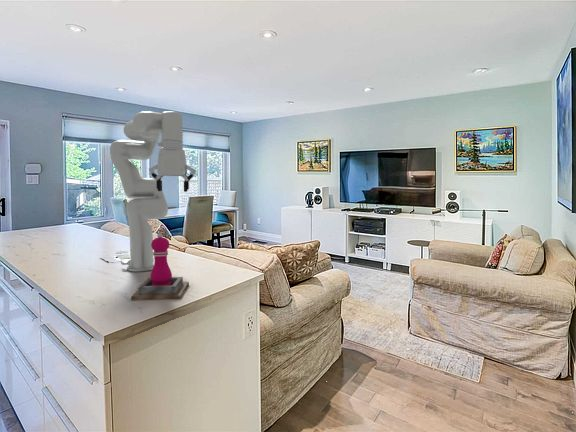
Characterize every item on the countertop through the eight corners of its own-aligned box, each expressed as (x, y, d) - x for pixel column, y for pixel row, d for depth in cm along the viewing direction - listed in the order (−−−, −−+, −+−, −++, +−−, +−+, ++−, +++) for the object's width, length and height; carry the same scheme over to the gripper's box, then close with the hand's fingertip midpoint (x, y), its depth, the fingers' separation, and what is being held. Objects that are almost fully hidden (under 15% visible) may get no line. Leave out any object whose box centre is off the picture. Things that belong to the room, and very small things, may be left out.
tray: (167, 257, 184) (167, 250, 184) (110, 268, 165) (110, 260, 164) (151, 251, 199) (151, 245, 198) (98, 260, 180) (97, 253, 179)
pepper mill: (165, 292, 121) (163, 235, 119) (146, 290, 122) (144, 234, 120) (176, 286, 128) (174, 232, 126) (158, 284, 129) (156, 231, 127)
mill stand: (131, 300, 116) (130, 289, 116) (145, 285, 132) (145, 276, 131) (180, 298, 118) (180, 288, 117) (188, 284, 133) (188, 275, 133)
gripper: (145, 144, 127) (146, 191, 129) (193, 145, 128) (193, 192, 130) (152, 145, 135) (152, 190, 137) (197, 147, 136) (197, 191, 138)
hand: (172, 191), depth 134 cm, fingers open, 9 cm apart
